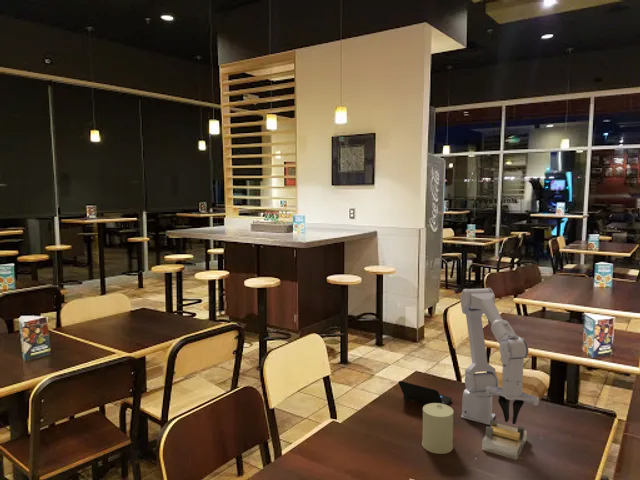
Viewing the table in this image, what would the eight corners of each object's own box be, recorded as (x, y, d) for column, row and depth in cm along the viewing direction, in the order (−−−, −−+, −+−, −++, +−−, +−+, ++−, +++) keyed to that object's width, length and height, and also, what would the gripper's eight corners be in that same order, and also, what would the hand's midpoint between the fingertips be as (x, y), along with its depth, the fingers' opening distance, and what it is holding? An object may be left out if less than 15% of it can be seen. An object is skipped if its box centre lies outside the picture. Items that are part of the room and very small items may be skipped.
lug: (517, 435, 146) (517, 428, 145) (518, 433, 147) (518, 425, 147) (523, 437, 145) (523, 429, 145) (524, 434, 146) (524, 427, 146)
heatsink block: (481, 449, 144) (482, 432, 143) (493, 431, 154) (493, 415, 154) (517, 460, 138) (517, 442, 137) (526, 440, 149) (527, 423, 148)
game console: (453, 401, 176) (453, 378, 175) (437, 416, 165) (437, 391, 164) (414, 390, 185) (414, 368, 184) (397, 403, 175) (397, 380, 174)
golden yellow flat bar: (488, 432, 147) (488, 429, 147) (491, 428, 150) (491, 425, 149) (517, 440, 142) (517, 437, 142) (519, 436, 145) (520, 433, 145)
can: (453, 440, 149) (454, 403, 148) (451, 456, 140) (452, 417, 139) (423, 435, 152) (424, 399, 151) (420, 450, 143) (420, 412, 142)
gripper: (483, 377, 144) (482, 420, 145) (536, 388, 136) (534, 434, 137) (490, 370, 149) (488, 411, 151) (540, 380, 141) (538, 423, 143)
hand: (510, 421), depth 144 cm, fingers closed
